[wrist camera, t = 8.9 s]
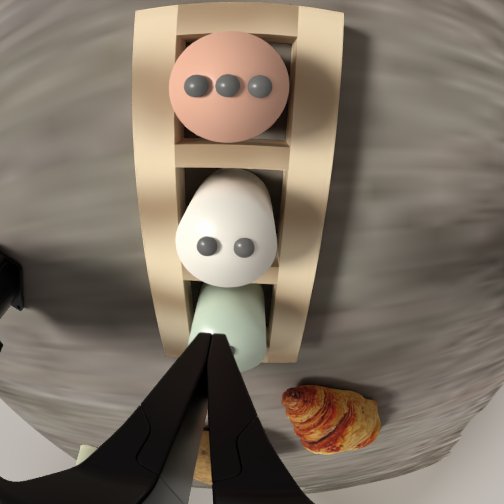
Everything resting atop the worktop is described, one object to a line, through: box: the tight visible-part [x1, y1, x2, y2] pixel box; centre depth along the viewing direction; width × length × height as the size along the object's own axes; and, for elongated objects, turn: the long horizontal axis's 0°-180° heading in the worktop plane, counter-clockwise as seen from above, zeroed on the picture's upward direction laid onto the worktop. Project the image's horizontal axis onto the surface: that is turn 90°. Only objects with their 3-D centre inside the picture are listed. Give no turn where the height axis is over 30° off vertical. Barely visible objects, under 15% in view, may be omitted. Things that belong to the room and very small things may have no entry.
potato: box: [193, 431, 212, 485], centre depth 33 cm, size 10×14×8 cm
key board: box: [132, 2, 344, 363], centre depth 18 cm, size 25×11×2 cm, turn 178°
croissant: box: [281, 385, 381, 455], centre depth 30 cm, size 21×10×8 cm
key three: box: [169, 31, 289, 143], centre depth 13 cm, size 5×5×6 cm
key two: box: [175, 168, 277, 287], centre depth 17 cm, size 5×5×6 cm
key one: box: [188, 282, 266, 372], centre depth 21 cm, size 5×5×6 cm
